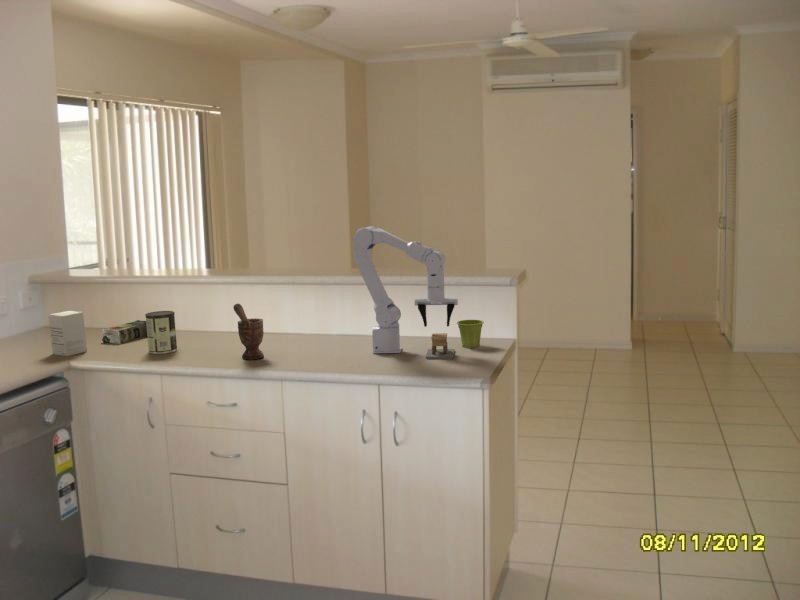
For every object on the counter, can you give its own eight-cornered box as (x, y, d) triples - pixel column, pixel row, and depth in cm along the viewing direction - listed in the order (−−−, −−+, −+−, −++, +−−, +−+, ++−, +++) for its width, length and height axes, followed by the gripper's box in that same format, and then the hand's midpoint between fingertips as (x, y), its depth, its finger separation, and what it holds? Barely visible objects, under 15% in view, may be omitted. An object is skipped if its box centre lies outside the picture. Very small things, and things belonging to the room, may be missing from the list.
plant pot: (482, 349, 308) (482, 324, 307) (455, 348, 310) (455, 324, 308) (485, 343, 317) (485, 319, 316) (459, 343, 319) (458, 319, 318)
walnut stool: (433, 350, 304) (432, 333, 303) (447, 350, 304) (447, 333, 303) (431, 354, 298) (431, 337, 297) (446, 354, 297) (446, 336, 296)
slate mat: (425, 359, 295) (425, 356, 295) (428, 351, 307) (428, 349, 307) (453, 358, 294) (452, 356, 294) (454, 351, 306) (454, 348, 306)
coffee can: (167, 347, 331) (164, 309, 329) (182, 350, 324) (180, 312, 322) (142, 351, 324) (139, 313, 321) (158, 355, 317) (155, 316, 314)
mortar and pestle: (258, 362, 299) (254, 304, 296) (233, 362, 300) (229, 304, 297) (268, 355, 310) (264, 298, 307) (244, 355, 312) (240, 299, 309)
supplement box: (73, 349, 333) (69, 310, 330) (87, 351, 328) (84, 311, 325) (51, 354, 325) (47, 314, 323) (66, 356, 320) (62, 315, 318)
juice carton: (118, 344, 340) (117, 329, 339) (100, 343, 344) (98, 328, 343) (156, 335, 357) (154, 320, 356) (138, 334, 362) (136, 319, 361)
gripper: (413, 288, 297) (414, 328, 300) (456, 287, 296) (457, 328, 298) (415, 285, 304) (416, 324, 306) (457, 284, 303) (458, 324, 305)
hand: (436, 326), depth 303 cm, fingers open, 7 cm apart
